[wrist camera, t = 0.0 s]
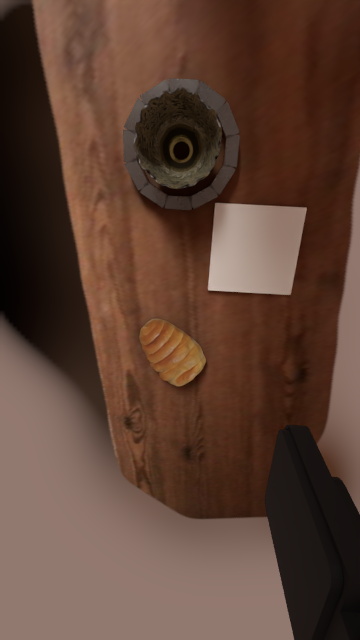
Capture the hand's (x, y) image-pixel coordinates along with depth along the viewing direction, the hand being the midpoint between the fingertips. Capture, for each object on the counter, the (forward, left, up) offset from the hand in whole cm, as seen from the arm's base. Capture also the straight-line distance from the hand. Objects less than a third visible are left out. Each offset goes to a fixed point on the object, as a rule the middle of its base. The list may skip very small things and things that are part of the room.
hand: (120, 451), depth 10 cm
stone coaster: (-1, +9, -31) cm, 32 cm away
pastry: (+13, 0, -32) cm, 34 cm away
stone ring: (-11, 0, -31) cm, 33 cm away
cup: (-11, 0, -31) cm, 33 cm away
